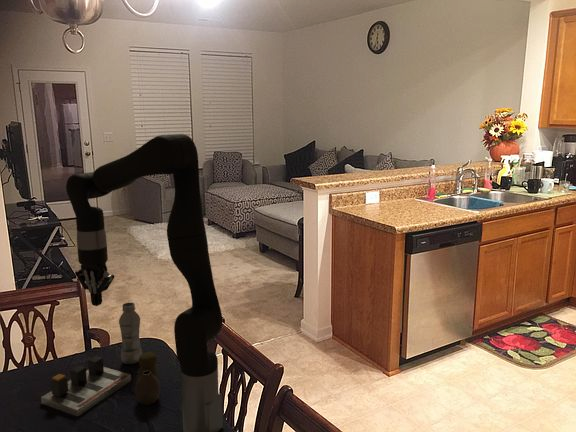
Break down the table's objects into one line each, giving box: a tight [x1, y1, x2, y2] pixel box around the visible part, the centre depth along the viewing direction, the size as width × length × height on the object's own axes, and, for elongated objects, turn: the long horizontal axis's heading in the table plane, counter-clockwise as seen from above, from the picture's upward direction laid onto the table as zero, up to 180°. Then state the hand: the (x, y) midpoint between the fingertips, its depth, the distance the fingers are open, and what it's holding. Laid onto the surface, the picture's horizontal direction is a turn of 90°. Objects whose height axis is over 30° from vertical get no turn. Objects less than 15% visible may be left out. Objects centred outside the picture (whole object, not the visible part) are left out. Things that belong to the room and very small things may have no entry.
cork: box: [138, 351, 159, 380], centre depth 141 cm, size 6×6×11 cm
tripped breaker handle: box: [50, 373, 69, 397], centre depth 135 cm, size 3×3×5 cm
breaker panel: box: [40, 355, 132, 417], centre depth 140 cm, size 14×20×6 cm
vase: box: [134, 371, 161, 406], centre depth 135 cm, size 7×7×9 cm
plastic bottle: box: [118, 302, 143, 365], centre depth 155 cm, size 6×7×20 cm
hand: (96, 304), depth 135 cm, fingers closed
